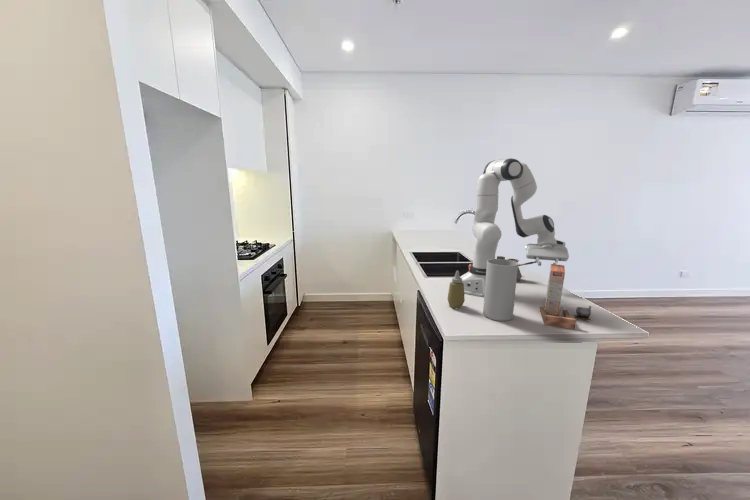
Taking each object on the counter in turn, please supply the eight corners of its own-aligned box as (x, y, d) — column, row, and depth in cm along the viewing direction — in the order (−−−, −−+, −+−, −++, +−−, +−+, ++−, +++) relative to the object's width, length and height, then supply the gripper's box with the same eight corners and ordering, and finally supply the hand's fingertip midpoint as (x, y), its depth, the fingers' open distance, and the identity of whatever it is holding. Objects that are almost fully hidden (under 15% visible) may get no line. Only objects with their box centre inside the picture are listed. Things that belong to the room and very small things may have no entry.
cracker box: (559, 316, 136) (565, 271, 132) (544, 313, 139) (549, 270, 135) (559, 306, 148) (565, 264, 143) (545, 303, 151) (550, 263, 146)
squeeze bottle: (452, 302, 153) (454, 267, 149) (467, 306, 147) (469, 271, 144) (443, 306, 148) (445, 271, 144) (458, 311, 142) (460, 274, 138)
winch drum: (576, 319, 133) (578, 307, 132) (574, 315, 137) (576, 304, 136) (591, 321, 131) (593, 309, 130) (588, 317, 135) (590, 305, 134)
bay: (544, 324, 128) (545, 316, 127) (539, 310, 143) (540, 302, 142) (574, 329, 124) (576, 320, 123) (566, 314, 139) (567, 305, 138)
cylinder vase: (477, 311, 141) (481, 259, 136) (500, 308, 145) (504, 258, 140) (494, 323, 130) (499, 266, 124) (519, 319, 133) (524, 264, 128)
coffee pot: (497, 279, 190) (499, 256, 187) (506, 276, 197) (508, 253, 194) (533, 288, 174) (536, 262, 171) (541, 283, 182) (544, 259, 179)
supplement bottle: (506, 276, 197) (507, 258, 194) (494, 275, 198) (496, 257, 195) (503, 273, 203) (505, 255, 201) (493, 272, 204) (494, 255, 202)
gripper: (526, 240, 171) (526, 261, 164) (568, 242, 163) (570, 264, 156) (525, 246, 176) (524, 267, 169) (565, 249, 168) (567, 270, 161)
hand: (547, 265), depth 162 cm, fingers open, 6 cm apart
